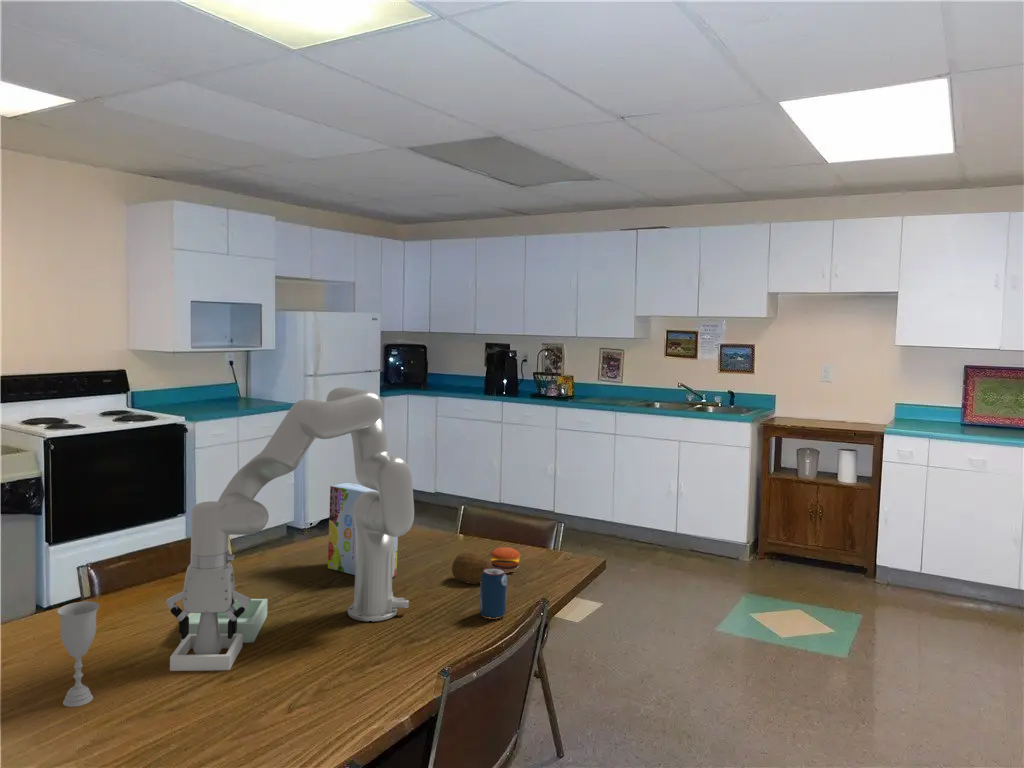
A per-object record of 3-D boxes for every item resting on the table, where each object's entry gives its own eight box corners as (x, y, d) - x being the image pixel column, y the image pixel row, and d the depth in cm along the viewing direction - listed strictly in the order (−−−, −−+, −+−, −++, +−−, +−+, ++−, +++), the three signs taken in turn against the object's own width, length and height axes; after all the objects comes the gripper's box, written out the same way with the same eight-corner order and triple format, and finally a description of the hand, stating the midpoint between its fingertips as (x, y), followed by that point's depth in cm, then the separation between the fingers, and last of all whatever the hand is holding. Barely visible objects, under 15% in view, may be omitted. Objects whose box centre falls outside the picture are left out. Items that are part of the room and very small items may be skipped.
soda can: (511, 616, 196) (513, 571, 195) (492, 622, 191) (494, 576, 190) (492, 608, 200) (494, 564, 200) (473, 615, 195) (475, 570, 195)
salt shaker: (211, 665, 160) (212, 606, 159) (187, 662, 161) (188, 603, 160) (227, 654, 166) (228, 597, 165) (203, 651, 167) (205, 594, 166)
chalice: (69, 690, 146) (69, 601, 145) (105, 691, 147) (106, 601, 146) (49, 709, 139) (49, 615, 138) (87, 709, 140) (88, 615, 139)
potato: (481, 590, 214) (482, 560, 214) (445, 583, 219) (446, 553, 219) (494, 582, 222) (495, 553, 222) (459, 575, 227) (460, 546, 226)
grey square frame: (242, 646, 170) (242, 633, 170) (229, 670, 158) (229, 656, 158) (187, 646, 169) (187, 633, 168) (169, 670, 157) (170, 656, 156)
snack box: (398, 576, 223) (402, 491, 222) (378, 583, 216) (381, 495, 214) (346, 561, 235) (348, 480, 233) (325, 568, 228) (328, 484, 226)
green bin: (267, 616, 188) (267, 598, 188) (253, 642, 172) (253, 623, 172) (200, 616, 186) (201, 598, 186) (180, 643, 170) (180, 624, 170)
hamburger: (490, 563, 240) (491, 543, 239) (520, 565, 240) (521, 545, 239) (488, 573, 230) (489, 551, 230) (519, 574, 230) (521, 553, 230)
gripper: (254, 554, 167) (252, 629, 168) (173, 554, 165) (171, 630, 166) (247, 565, 159) (245, 643, 160) (161, 564, 157) (160, 644, 158)
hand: (208, 636), depth 163 cm, fingers open, 9 cm apart
